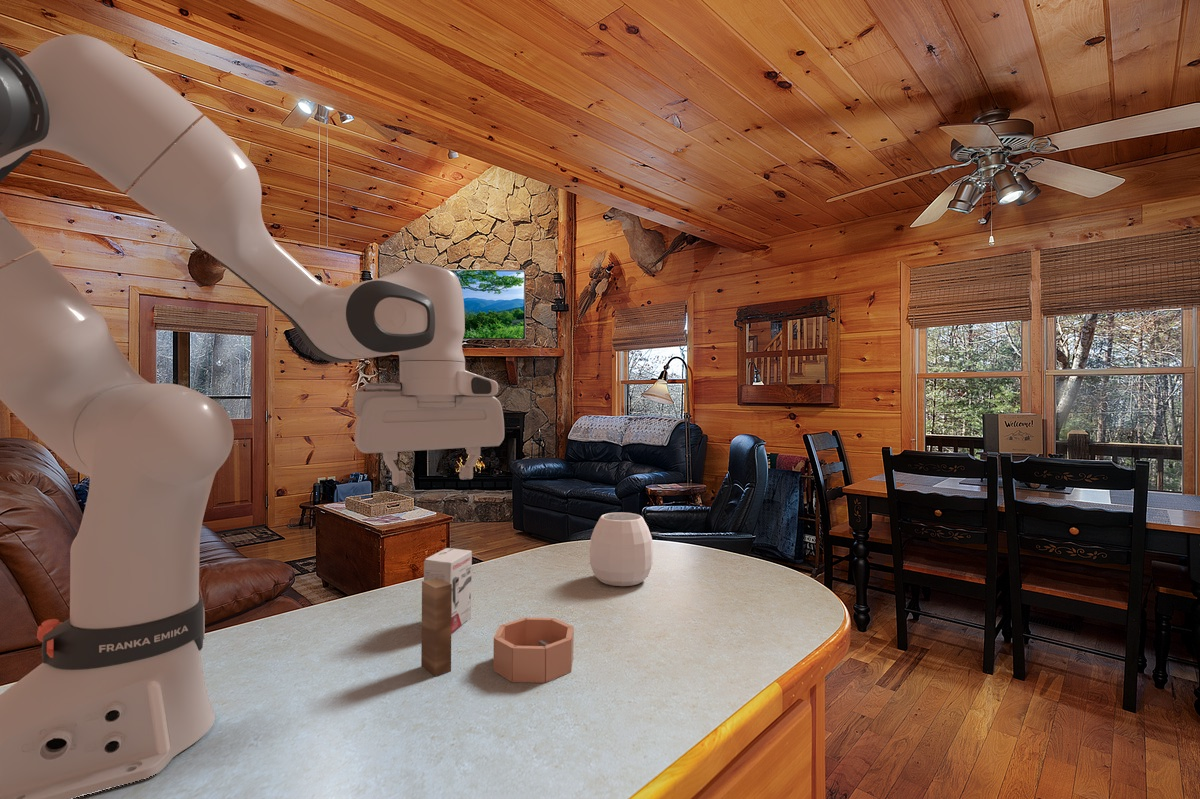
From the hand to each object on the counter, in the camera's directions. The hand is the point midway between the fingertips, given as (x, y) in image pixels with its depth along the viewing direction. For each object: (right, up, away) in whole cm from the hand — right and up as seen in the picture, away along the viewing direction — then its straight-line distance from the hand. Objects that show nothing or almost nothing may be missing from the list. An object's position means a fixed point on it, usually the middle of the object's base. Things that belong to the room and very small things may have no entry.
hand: (433, 481), depth 81 cm
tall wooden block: (0, -26, -1) cm, 26 cm away
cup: (+28, -26, +39) cm, 55 cm away
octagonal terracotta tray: (+14, -26, +1) cm, 30 cm away
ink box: (-2, -26, +15) cm, 30 cm away
